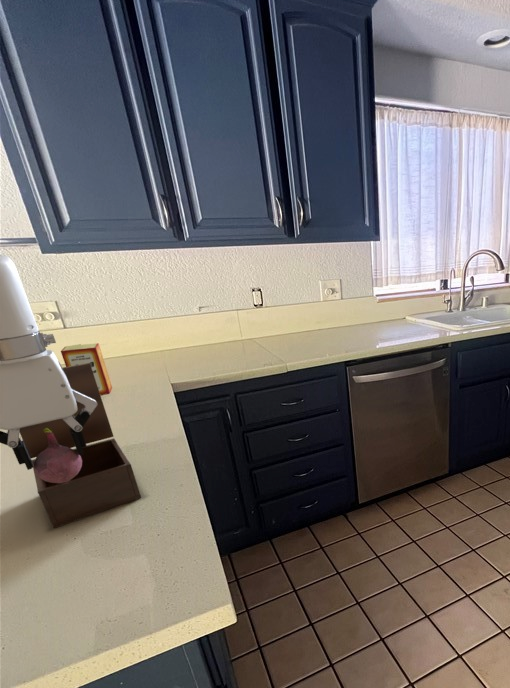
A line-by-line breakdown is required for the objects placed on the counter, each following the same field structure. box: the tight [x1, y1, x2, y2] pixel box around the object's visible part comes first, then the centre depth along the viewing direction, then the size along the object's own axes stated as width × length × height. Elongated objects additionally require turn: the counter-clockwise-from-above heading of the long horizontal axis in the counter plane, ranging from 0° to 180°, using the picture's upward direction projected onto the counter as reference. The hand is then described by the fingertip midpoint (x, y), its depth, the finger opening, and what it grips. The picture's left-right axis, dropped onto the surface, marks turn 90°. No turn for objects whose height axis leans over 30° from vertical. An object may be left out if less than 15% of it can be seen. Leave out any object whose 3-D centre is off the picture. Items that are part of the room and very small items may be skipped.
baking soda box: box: [60, 342, 113, 396], centre depth 141 cm, size 10×6×16 cm
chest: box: [31, 437, 142, 529], centre depth 85 cm, size 16×15×8 cm
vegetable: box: [32, 428, 82, 484], centre depth 68 cm, size 6×6×10 cm
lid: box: [19, 363, 115, 459], centre depth 87 cm, size 16×15×5 cm
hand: (55, 458), depth 68 cm, fingers closed on vegetable, 6 cm apart
